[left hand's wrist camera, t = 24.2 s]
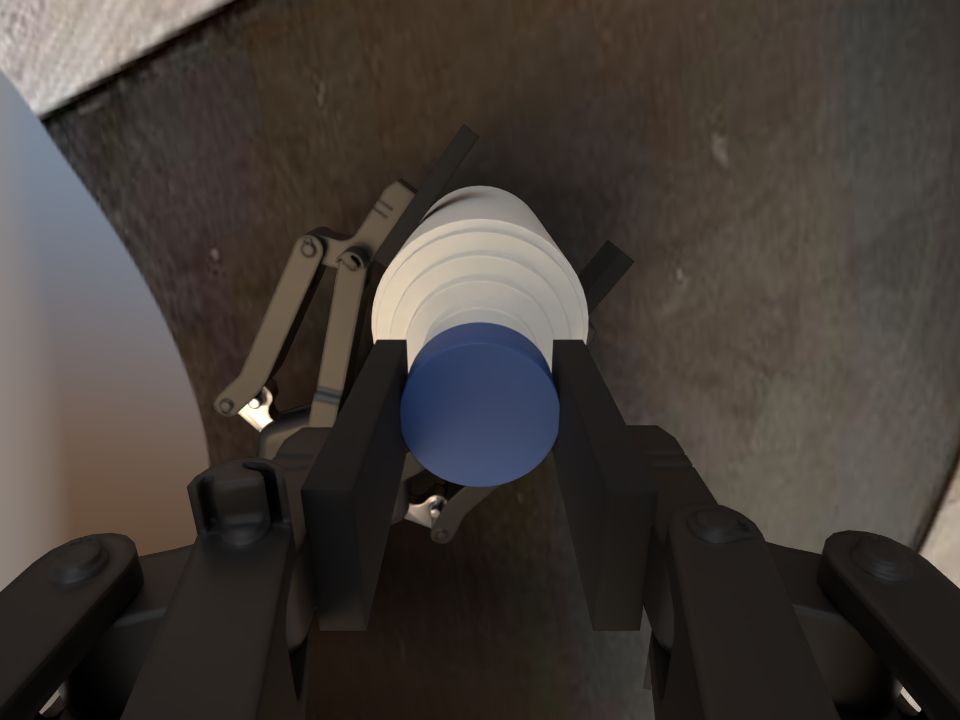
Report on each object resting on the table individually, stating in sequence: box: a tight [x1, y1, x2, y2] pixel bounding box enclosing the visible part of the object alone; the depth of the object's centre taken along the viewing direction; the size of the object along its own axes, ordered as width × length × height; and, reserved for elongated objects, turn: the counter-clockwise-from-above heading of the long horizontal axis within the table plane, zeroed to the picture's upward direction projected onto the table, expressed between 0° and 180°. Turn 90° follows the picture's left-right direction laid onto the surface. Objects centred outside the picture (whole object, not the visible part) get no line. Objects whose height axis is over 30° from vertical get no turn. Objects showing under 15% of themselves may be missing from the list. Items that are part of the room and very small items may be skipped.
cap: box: [400, 322, 560, 487], centre depth 14 cm, size 4×4×2 cm
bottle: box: [372, 186, 588, 374], centre depth 23 cm, size 7×7×19 cm
